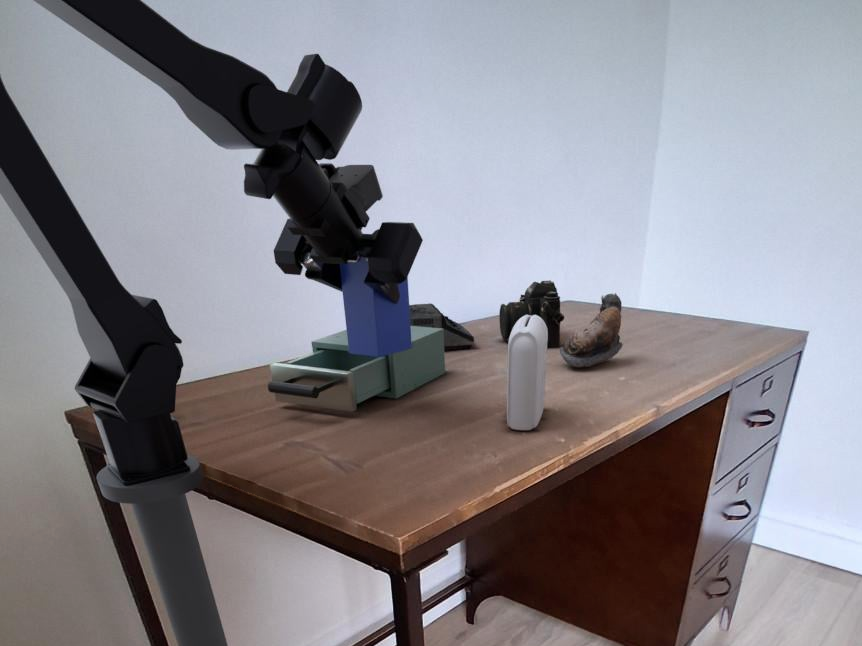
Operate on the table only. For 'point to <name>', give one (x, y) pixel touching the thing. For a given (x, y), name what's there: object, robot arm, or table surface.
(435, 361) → the cabinet
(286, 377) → the drawer
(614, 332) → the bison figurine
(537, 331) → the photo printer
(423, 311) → the electronic device
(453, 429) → the table surface
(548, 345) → the film camera
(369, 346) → the carton
